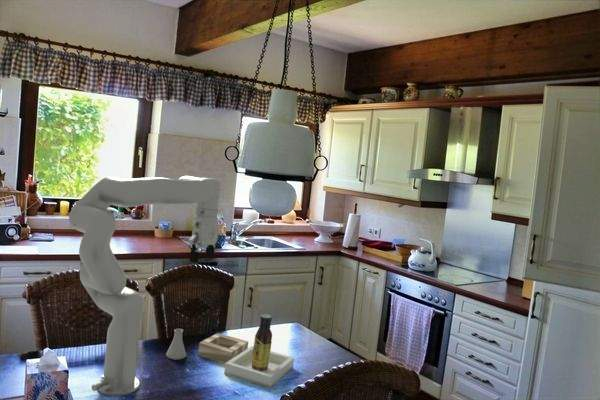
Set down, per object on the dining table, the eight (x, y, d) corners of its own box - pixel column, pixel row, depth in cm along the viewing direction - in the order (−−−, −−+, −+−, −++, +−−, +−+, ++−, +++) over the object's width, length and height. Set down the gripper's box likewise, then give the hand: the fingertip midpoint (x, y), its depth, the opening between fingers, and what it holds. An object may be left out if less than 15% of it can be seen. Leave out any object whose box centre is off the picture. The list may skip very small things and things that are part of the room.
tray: (269, 388, 169) (271, 377, 168) (224, 374, 176) (225, 363, 175) (292, 368, 187) (294, 357, 187) (250, 355, 194) (252, 345, 194)
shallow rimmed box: (230, 365, 183) (231, 352, 183) (198, 355, 188) (199, 342, 188) (247, 353, 195) (248, 341, 195) (216, 344, 200) (217, 332, 200)
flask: (174, 361, 181) (177, 335, 180) (162, 355, 185) (164, 329, 184) (190, 356, 186) (192, 331, 185) (177, 350, 191) (180, 325, 190)
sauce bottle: (249, 364, 184) (255, 312, 182) (266, 364, 185) (272, 312, 184) (253, 372, 177) (259, 318, 176) (270, 372, 179) (276, 318, 177)
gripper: (201, 216, 167) (196, 266, 168) (228, 213, 183) (223, 258, 184) (183, 212, 169) (178, 261, 171) (211, 210, 185) (206, 255, 187)
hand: (201, 260), depth 177 cm, fingers open, 9 cm apart
